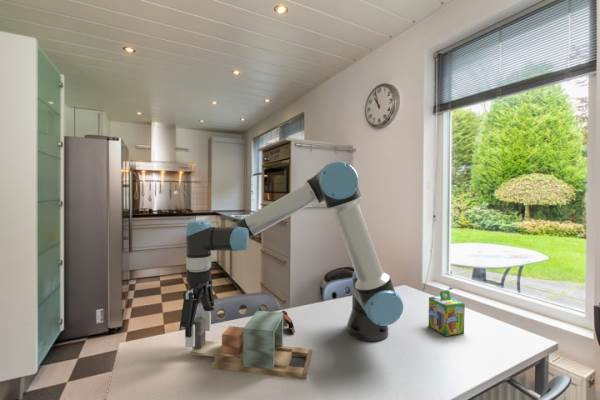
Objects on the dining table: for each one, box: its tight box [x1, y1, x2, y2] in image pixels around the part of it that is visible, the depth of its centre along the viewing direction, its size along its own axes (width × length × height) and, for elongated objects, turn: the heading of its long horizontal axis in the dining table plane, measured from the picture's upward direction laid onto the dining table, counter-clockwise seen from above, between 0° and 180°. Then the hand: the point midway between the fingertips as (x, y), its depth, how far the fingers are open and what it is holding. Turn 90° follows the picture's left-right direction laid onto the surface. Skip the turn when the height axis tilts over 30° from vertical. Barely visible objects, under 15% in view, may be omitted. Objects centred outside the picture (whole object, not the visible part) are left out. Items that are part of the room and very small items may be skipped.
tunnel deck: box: [212, 310, 313, 380], centre depth 87 cm, size 28×13×13 cm, turn 81°
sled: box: [189, 316, 245, 358], centre depth 89 cm, size 20×7×9 cm, turn 81°
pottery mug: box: [279, 310, 296, 336], centre depth 107 cm, size 12×10×8 cm
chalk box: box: [427, 290, 466, 337], centre depth 108 cm, size 9×9×15 cm
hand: (198, 337), depth 91 cm, fingers open, 9 cm apart
